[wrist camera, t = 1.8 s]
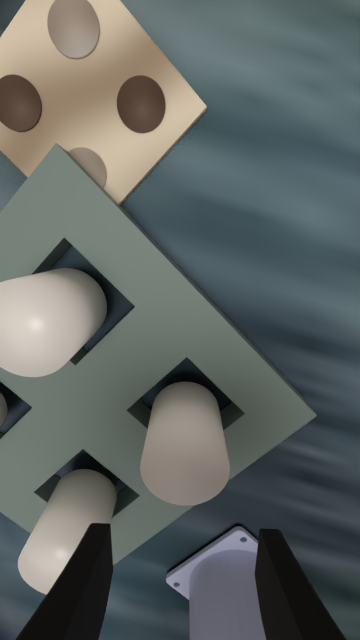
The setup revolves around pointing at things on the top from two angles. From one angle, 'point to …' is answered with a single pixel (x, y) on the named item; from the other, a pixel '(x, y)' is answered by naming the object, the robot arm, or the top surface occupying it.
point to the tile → (90, 92)
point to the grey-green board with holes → (122, 358)
